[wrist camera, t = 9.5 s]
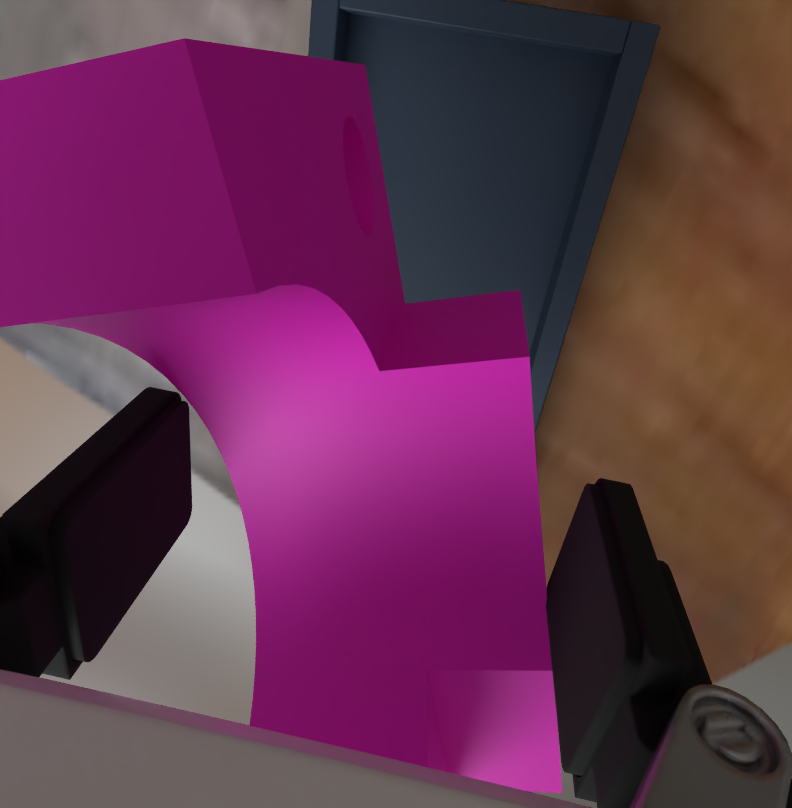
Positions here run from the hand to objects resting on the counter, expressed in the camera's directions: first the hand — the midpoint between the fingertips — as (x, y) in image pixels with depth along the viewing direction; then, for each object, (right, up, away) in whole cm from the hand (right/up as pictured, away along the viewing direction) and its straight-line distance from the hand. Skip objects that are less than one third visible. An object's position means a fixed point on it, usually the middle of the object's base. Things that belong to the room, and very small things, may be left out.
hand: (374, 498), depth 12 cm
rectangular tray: (+2, +6, +11) cm, 12 cm away
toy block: (0, +2, +3) cm, 4 cm away
